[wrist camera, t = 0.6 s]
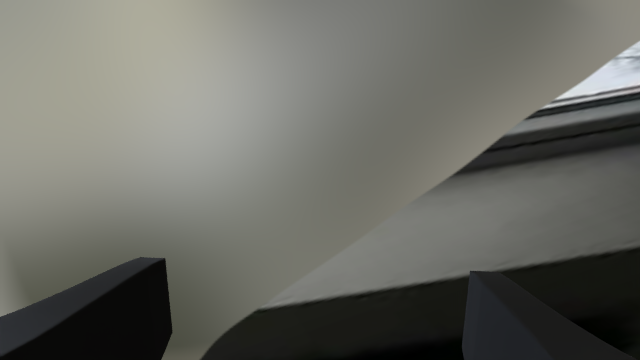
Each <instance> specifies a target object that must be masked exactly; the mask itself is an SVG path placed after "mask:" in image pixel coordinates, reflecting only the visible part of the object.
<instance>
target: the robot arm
mask: <svg viewBox="0 0 640 360" xmlns="http://www.w3.org/2000/svg"><path fill="white" fill-rule="evenodd" d="M171 334H172V323H171V312H170V302H169V292H168V282H167V272H166V261H165V258H144V257H140V258H137V259H134V260H131V261H128V262H126V263H124V264H121V265H119V266H117V267H114V268H112V269H110V270H108V271H106V272H103V273H102V274H99V275H97V276H95V277H93V278H90V279H88V280H86V281H84V282H82V283H80V284H78V285H75V286H73V287H71V288H69V289H67V290H65V291H62V292H60V293H58V294H55V295H53V296H51V297H48V298H46V299H44V300H41V301H39V302H37V303H34V304H32V305H30V306H27V307H25V308H22V309H20V310H17V311H15V312H12V313H10V314H7V315H4V316H2V317H0V360H161V359H162V357H163V354H164V352H165V349H166V347H167V344H168V342H169V339H170V337H171ZM462 350H463V355H464V360H637V359H635V358H633V357H631V356H629V355H627V354H626V353H624V352H622V351H620V350H618V349H616V348H614V347H612V346H611V345H609V344H607V343H605V342H604V341H602V340H600V339H599V338H597V337H595V336H594V335H592V334H590V333H589V332H587V331H585V330H584V329H582V328H580V327H579V326H577V325H576V324H574V323H573V322H571V321H569V320H568V319H566V318H565V317H563V316H562V315H560V314H559V313H557V312H556V311H554V310H553V309H551V308H550V307H549V306H547V305H546V304H544V303H543V302H541V301H540V300H538V299H537V298H536V297H534V296H533V295H531V294H530V293H529V292H527V291H526V290H524V289H523V288H521V287H520V286H519V285H517V284H516V283H514V282H513V281H511V280H510V279H508V278H507V277H505V276H504V275H502V274H500V273H498V272H485V271H470V277H469V287H468V296H467V305H466V314H465V323H464V333H463V342H462Z"/></svg>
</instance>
